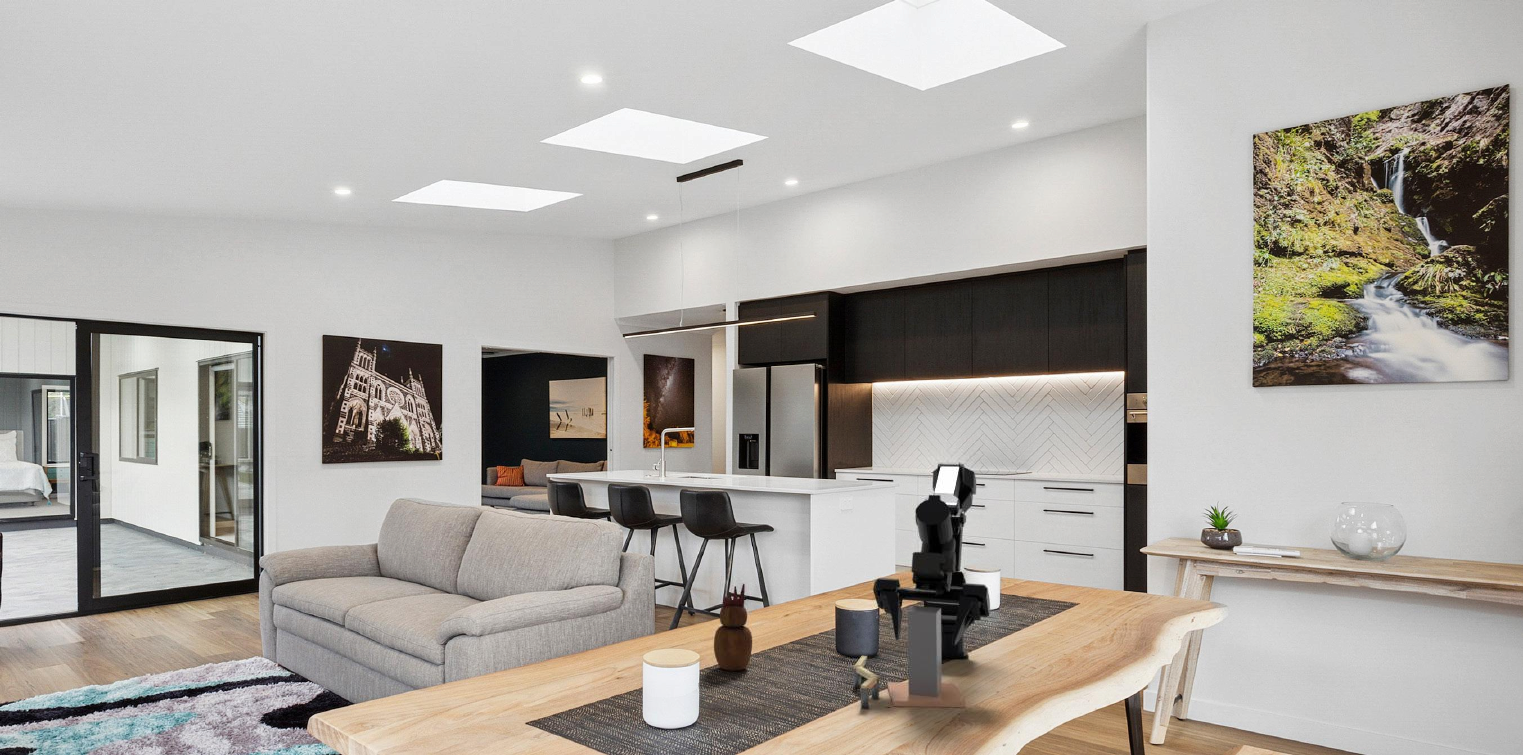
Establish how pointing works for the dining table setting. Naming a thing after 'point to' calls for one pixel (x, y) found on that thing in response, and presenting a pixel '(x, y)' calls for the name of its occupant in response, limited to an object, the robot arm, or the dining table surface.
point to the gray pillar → (924, 651)
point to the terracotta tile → (945, 698)
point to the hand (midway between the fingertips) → (925, 641)
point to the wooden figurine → (733, 634)
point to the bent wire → (871, 683)
